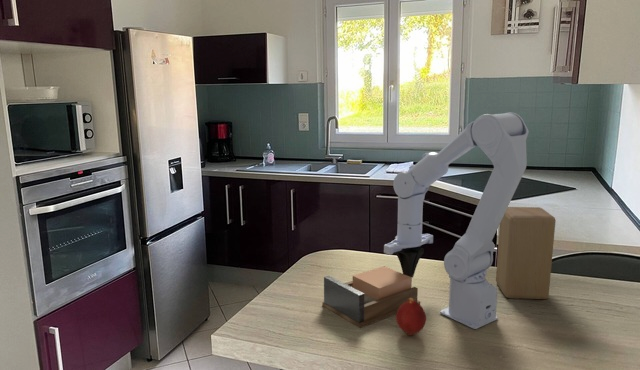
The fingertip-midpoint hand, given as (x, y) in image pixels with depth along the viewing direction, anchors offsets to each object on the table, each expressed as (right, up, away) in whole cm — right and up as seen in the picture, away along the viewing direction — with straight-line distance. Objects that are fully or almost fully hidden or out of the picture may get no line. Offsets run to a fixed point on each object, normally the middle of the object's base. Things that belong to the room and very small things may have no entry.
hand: (408, 276), depth 118 cm
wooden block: (+27, -4, +1) cm, 28 cm away
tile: (-7, -2, -5) cm, 9 cm away
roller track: (-10, -5, -6) cm, 12 cm away
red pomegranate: (-3, -8, -19) cm, 21 cm away
